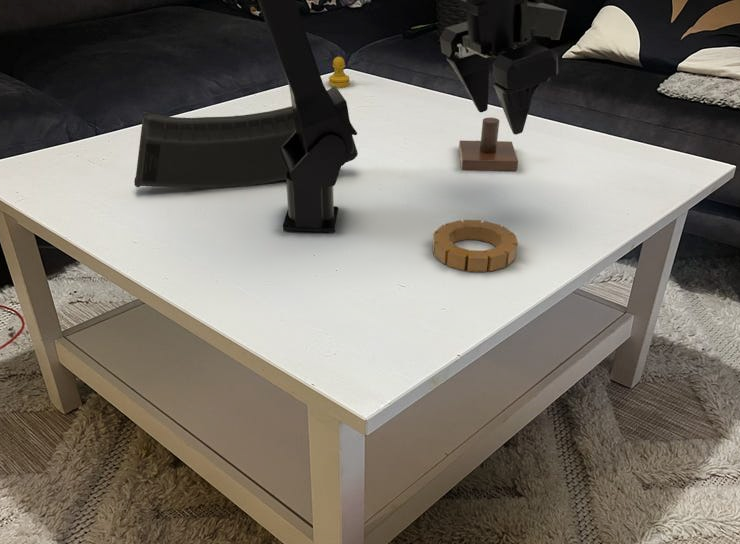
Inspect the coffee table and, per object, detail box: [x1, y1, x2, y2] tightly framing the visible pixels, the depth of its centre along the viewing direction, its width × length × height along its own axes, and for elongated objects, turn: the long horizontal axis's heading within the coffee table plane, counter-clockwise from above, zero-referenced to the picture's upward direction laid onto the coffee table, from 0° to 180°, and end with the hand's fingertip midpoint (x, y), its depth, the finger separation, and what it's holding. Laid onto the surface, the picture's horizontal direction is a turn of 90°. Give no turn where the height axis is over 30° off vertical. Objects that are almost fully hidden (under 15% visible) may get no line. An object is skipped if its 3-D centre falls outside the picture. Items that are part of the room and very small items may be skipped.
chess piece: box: [328, 56, 350, 88], centre depth 139 cm, size 4×4×5 cm
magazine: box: [134, 105, 359, 189], centre depth 99 cm, size 17×3×30 cm
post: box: [458, 117, 519, 172], centre depth 108 cm, size 8×8×6 cm
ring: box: [432, 219, 518, 273], centre depth 86 cm, size 10×10×2 cm
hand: (499, 121), depth 91 cm, fingers open, 9 cm apart
